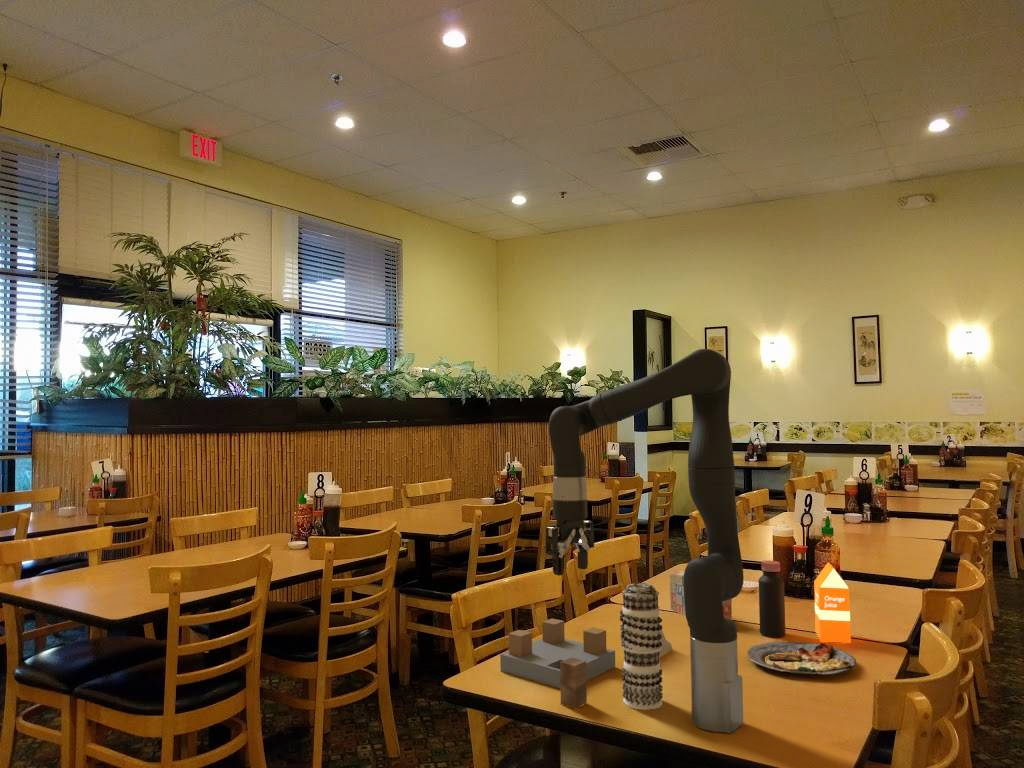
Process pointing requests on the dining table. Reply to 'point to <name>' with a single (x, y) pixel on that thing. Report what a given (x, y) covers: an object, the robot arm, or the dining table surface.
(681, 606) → the printed cardboard box
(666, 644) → the hinge
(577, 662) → the stool leg
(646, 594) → the decorative candle
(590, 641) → the stool seat
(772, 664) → the food plate
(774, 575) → the bottle
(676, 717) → the dining table surface
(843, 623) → the orange juice
